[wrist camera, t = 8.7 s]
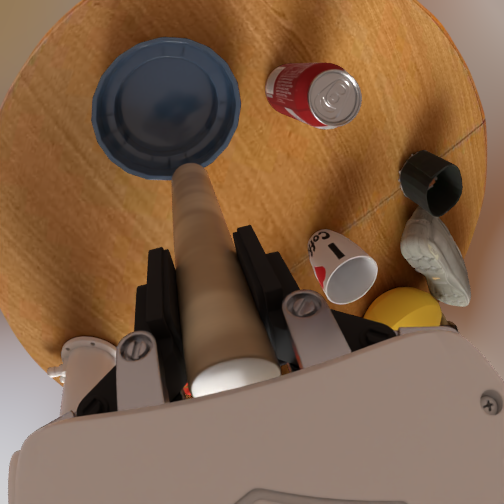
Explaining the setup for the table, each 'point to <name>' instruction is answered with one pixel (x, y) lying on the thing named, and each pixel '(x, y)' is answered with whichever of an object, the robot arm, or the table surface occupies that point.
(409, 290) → the vase
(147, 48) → the blue pet bowl
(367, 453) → the robot arm
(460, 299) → the grey shoe
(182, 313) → the stick
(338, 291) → the cup
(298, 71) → the soda can
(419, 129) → the table surface
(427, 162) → the sushi
